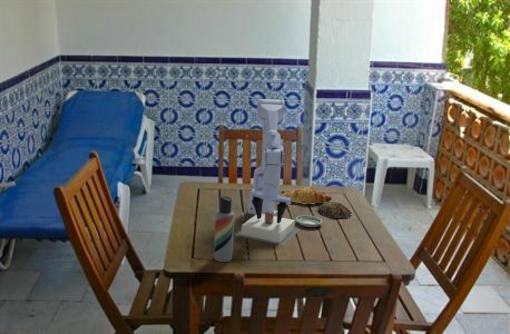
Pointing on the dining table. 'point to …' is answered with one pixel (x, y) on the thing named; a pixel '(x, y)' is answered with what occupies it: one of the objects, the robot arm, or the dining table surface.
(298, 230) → the mat
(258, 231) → the cover
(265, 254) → the dining table surface
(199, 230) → the dining table surface
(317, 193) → the croissant
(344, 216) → the bread roll
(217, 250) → the lotion bottle
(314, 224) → the saucer
